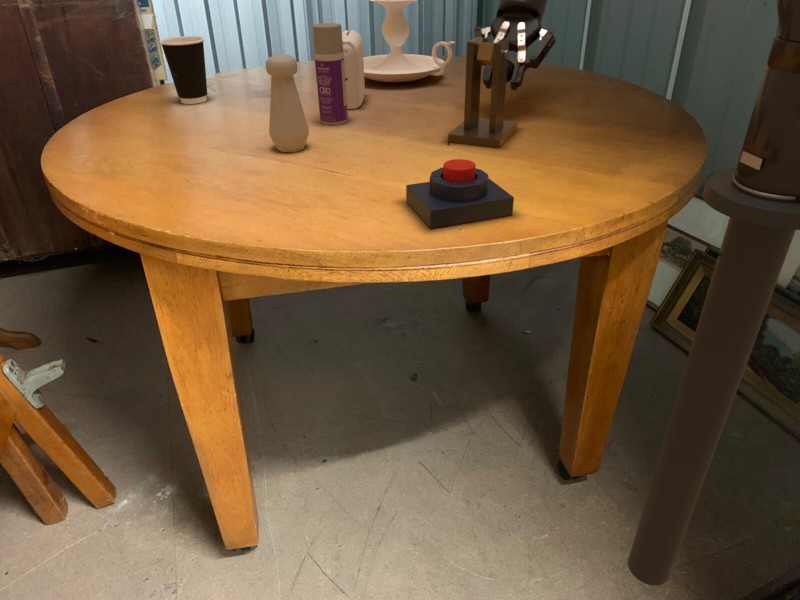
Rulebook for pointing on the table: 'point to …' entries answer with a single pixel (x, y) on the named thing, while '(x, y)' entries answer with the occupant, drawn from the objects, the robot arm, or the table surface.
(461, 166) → the release button
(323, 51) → the container
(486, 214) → the button housing
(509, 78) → the lock lever
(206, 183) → the table surface
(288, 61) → the salt shaker
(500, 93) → the lever stand
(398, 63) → the candlestick
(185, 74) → the dixie cup
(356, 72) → the photo printer
